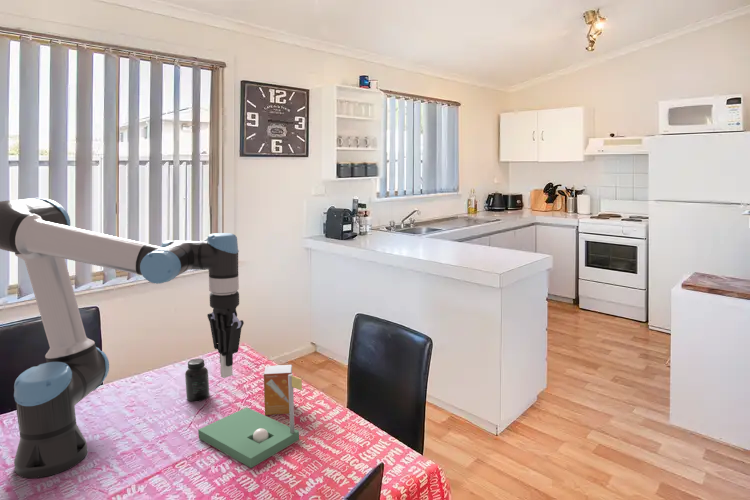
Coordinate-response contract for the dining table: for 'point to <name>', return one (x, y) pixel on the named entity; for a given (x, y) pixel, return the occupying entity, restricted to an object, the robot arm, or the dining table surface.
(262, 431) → the ball
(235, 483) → the dining table surface
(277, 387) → the small box
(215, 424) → the putting green
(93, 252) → the robot arm
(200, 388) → the supplement bottle
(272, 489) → the dining table surface
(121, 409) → the dining table surface
